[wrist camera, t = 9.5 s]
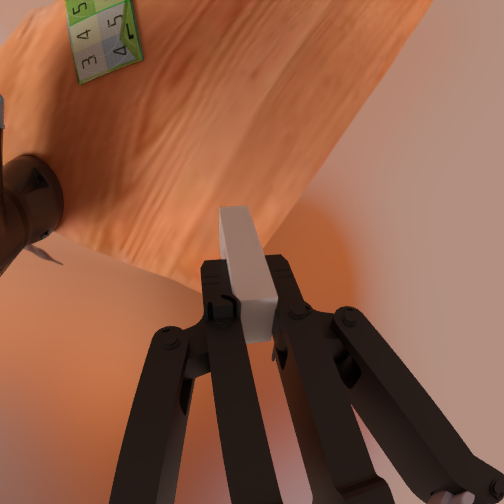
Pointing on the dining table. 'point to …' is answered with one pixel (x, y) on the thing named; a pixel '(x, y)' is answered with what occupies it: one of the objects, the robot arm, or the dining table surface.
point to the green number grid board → (102, 36)
